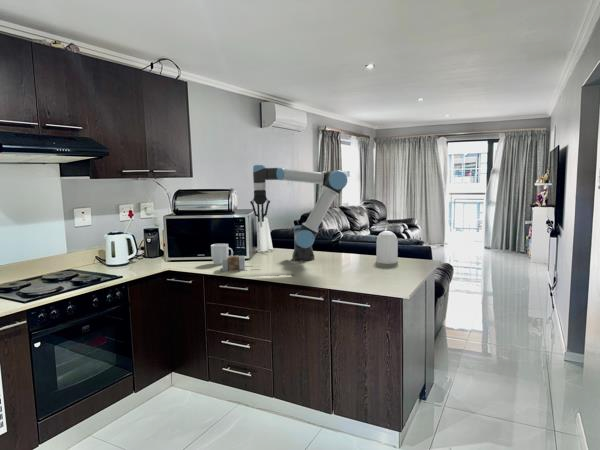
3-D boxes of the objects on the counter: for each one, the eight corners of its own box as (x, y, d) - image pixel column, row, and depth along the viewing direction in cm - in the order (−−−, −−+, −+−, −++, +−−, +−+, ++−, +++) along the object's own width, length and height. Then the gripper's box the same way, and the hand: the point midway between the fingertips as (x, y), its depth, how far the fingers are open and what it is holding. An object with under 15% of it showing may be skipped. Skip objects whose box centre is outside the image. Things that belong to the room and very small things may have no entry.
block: (239, 268, 252) (238, 255, 251) (238, 270, 246) (238, 257, 245) (229, 268, 251) (228, 255, 250) (228, 270, 245) (228, 257, 244)
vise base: (261, 267, 256) (261, 265, 256) (262, 272, 245) (261, 269, 244) (220, 269, 254) (220, 267, 254) (219, 274, 242) (219, 271, 242)
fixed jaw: (229, 268, 252) (229, 256, 252) (228, 271, 244) (228, 259, 243) (223, 268, 252) (223, 257, 251) (222, 271, 244) (222, 259, 243)
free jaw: (244, 266, 253) (244, 255, 253) (244, 269, 245) (244, 258, 244) (239, 267, 253) (238, 255, 252) (238, 270, 245) (238, 258, 244)
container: (372, 261, 269) (372, 230, 266) (387, 258, 276) (387, 228, 274) (386, 264, 257) (387, 232, 255) (402, 261, 265) (402, 230, 262)
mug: (228, 261, 278) (228, 242, 276) (237, 263, 270) (236, 244, 268) (208, 264, 269) (207, 244, 267) (216, 267, 260) (215, 246, 259)
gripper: (269, 189, 264) (271, 225, 267) (249, 189, 263) (250, 226, 265) (270, 189, 257) (271, 227, 259) (249, 190, 255) (250, 228, 258)
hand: (261, 226), depth 262 cm, fingers closed
